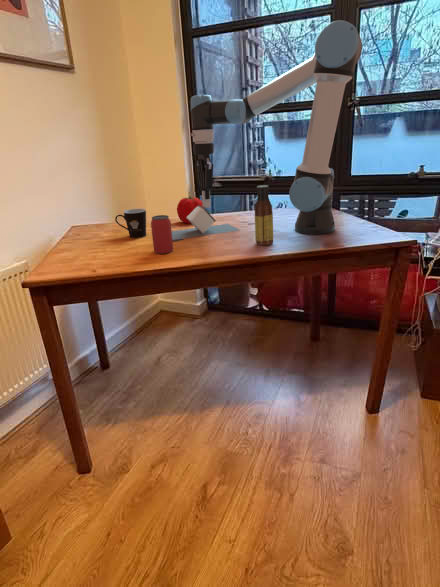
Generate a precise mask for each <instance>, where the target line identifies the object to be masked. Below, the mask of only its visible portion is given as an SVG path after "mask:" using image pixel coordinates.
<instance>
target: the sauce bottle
mask: <svg viewBox="0 0 440 587" xmlns="http://www.w3.org/2000/svg"><path fill="white" fill-rule="evenodd" d="M269 188H270V187H269V185H268V184H267V185H266V184H263V185H257V186H256V193H257V196H256V197H257V198H256V199H257V200H256V202H255V204H254V232H255V234H254V235H255V243H256V245H258V246H265V247H266V246H270V245H273V244H274V215H273V205H272V203H271V200H270V199H269V198H270V197H269V190H270V189H269Z"/></svg>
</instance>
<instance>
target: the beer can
mask: <svg viewBox="0 0 440 587" xmlns="http://www.w3.org/2000/svg"><path fill="white" fill-rule="evenodd" d="M171 222H172V221H171V220H170V218H169V215H166V214H165V215H163V214H160V215H154V216H151V221H150V228H151V236H152V245H153V246H152V247H153V252H154V253H155V254H158V255H166V254H170V253H172V252H173V251H174V242H173V241H172V231H173V230H172V223H171Z"/></svg>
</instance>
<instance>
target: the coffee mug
mask: <svg viewBox="0 0 440 587" xmlns="http://www.w3.org/2000/svg"><path fill="white" fill-rule="evenodd" d="M118 217H122V218H123V220H125V224H126V226H124V225H123V224H121V223H120V222H118V220H117V219H118ZM115 223H116V224H117V225H119V226H120V227H122V228H124V229H125V230H127V231H128V235H129V238H131V239H141V238H142V239H143V238H145V237H147V209H145V208H130V209H126V210H124V211H123V214H117V215H116V216H115Z"/></svg>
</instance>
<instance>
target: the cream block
mask: <svg viewBox="0 0 440 587" xmlns="http://www.w3.org/2000/svg"><path fill="white" fill-rule="evenodd" d="M186 218H187V219H188V220H189V221H190V222H191V223H192V224H191V225H192V226H193V227H194V228H196V229H197V230H199V231H200V232H202V233H204V232H205V231H206V230H207V229H208V228H209V227H210V226H213V224H214V223H216V220H215V218H214V217H213V215H211V213H210V212H209V211H208V210H207V208H204V207H202V206H200V205H198V206H197V207H196V208H195V209H194V210H193V211H192V212H191V213H190V214H189V215H188V216H187V217H186Z"/></svg>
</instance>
